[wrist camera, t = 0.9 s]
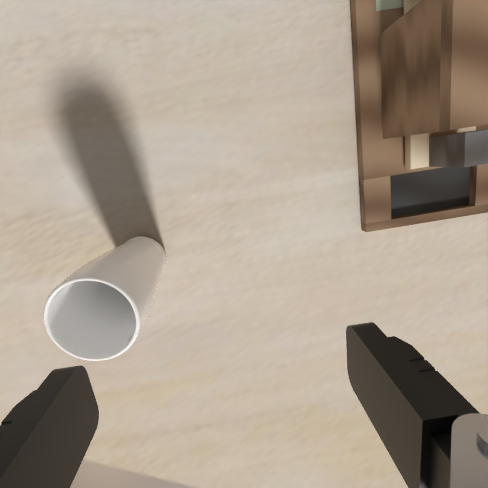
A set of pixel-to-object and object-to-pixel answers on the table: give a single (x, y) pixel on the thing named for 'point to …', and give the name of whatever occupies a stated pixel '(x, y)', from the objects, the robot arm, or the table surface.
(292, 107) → the table surface
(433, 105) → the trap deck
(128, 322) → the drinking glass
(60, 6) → the table surface
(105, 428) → the table surface
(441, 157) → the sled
